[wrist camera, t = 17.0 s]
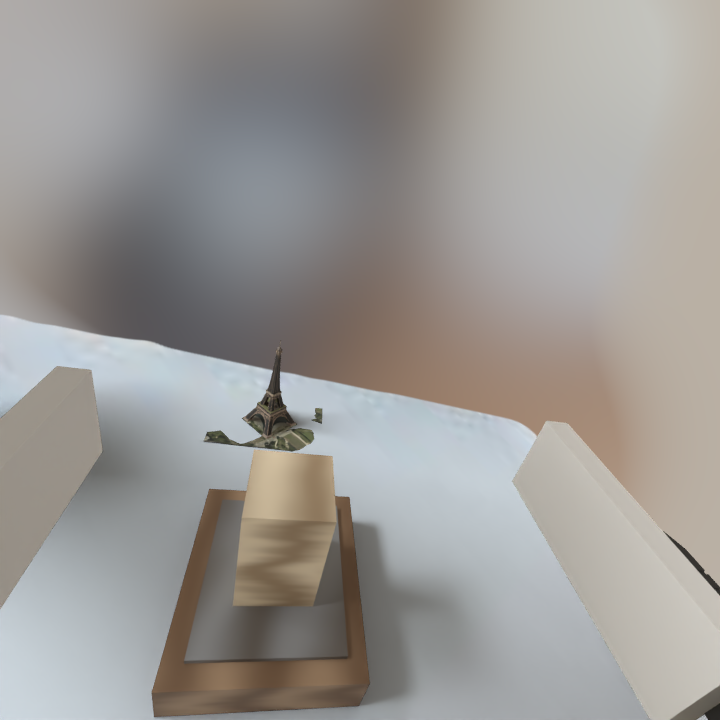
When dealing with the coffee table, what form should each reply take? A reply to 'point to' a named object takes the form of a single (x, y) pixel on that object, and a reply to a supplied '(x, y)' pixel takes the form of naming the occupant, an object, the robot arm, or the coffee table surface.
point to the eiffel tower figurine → (272, 421)
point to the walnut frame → (261, 630)
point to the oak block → (285, 529)
